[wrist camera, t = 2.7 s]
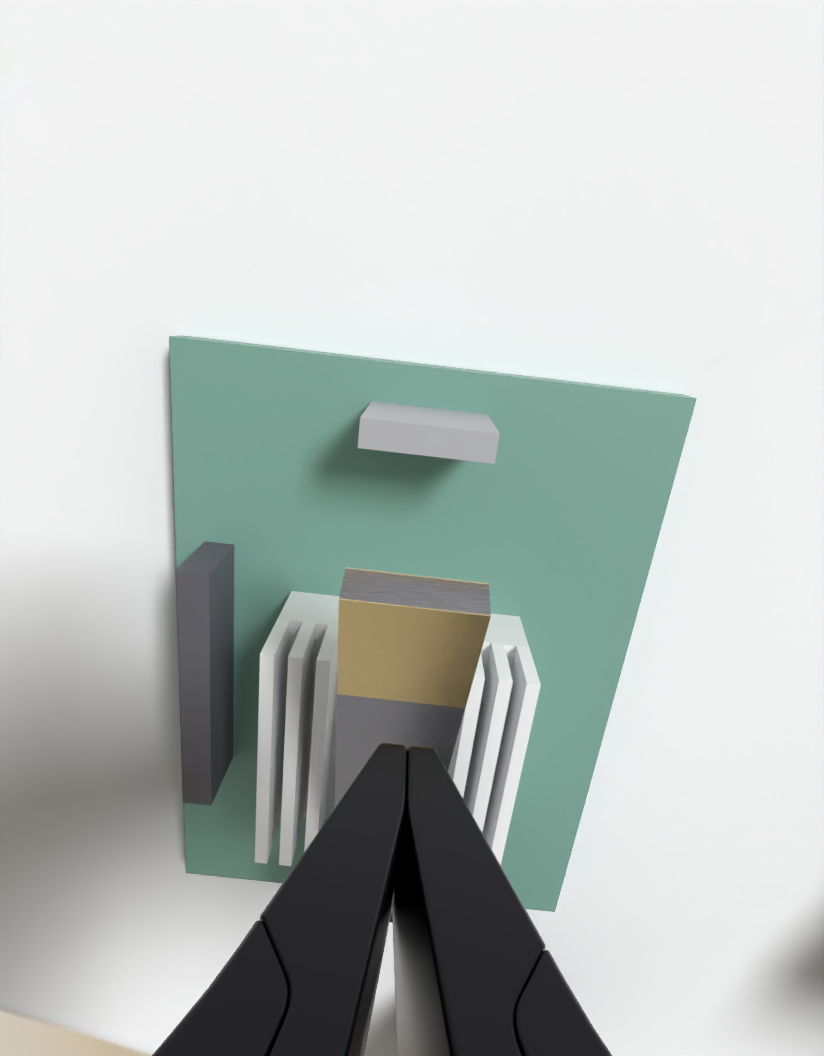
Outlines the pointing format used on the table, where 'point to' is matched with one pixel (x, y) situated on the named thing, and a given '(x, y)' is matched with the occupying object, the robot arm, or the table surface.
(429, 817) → the robot arm
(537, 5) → the table surface
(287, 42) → the table surface
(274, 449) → the board
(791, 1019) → the table surface
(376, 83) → the table surface
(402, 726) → the gold-tipped grey bar
